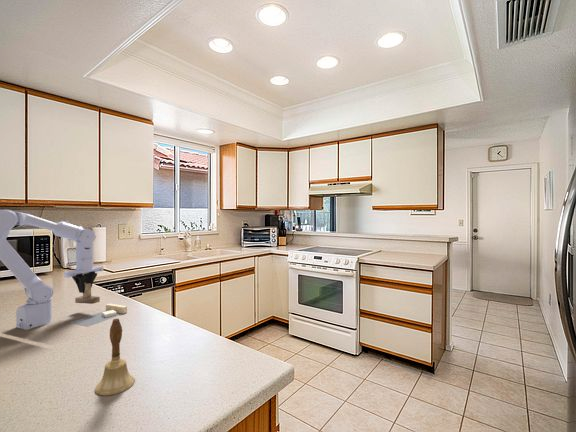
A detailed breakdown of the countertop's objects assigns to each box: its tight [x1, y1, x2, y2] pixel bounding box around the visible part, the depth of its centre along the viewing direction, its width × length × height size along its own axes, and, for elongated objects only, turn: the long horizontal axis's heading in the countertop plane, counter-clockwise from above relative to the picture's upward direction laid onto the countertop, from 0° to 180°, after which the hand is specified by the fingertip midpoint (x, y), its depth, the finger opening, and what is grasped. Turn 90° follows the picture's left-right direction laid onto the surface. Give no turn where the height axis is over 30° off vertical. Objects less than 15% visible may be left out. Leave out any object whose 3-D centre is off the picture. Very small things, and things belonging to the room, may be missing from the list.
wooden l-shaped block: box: [74, 283, 101, 305], centre depth 119 cm, size 3×10×8 cm, turn 69°
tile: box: [101, 310, 117, 318], centre depth 116 cm, size 4×4×1 cm
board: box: [69, 303, 128, 328], centre depth 114 cm, size 16×10×4 cm, turn 159°
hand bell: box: [94, 318, 136, 396], centre depth 71 cm, size 8×8×16 cm
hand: (85, 291), depth 120 cm, fingers closed on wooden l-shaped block, 2 cm apart
